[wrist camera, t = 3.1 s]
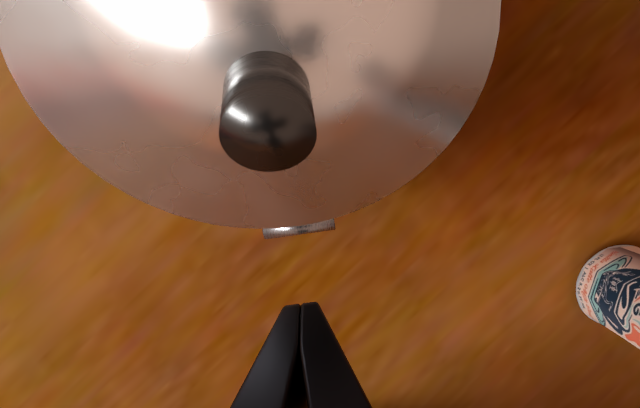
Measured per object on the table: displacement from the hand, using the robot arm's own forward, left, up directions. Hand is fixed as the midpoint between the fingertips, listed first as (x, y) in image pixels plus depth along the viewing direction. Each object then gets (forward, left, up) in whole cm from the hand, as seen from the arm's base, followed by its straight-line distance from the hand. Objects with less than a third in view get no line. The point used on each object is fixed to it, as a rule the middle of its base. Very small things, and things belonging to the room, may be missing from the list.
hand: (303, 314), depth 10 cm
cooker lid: (+6, 0, -3) cm, 7 cm away
